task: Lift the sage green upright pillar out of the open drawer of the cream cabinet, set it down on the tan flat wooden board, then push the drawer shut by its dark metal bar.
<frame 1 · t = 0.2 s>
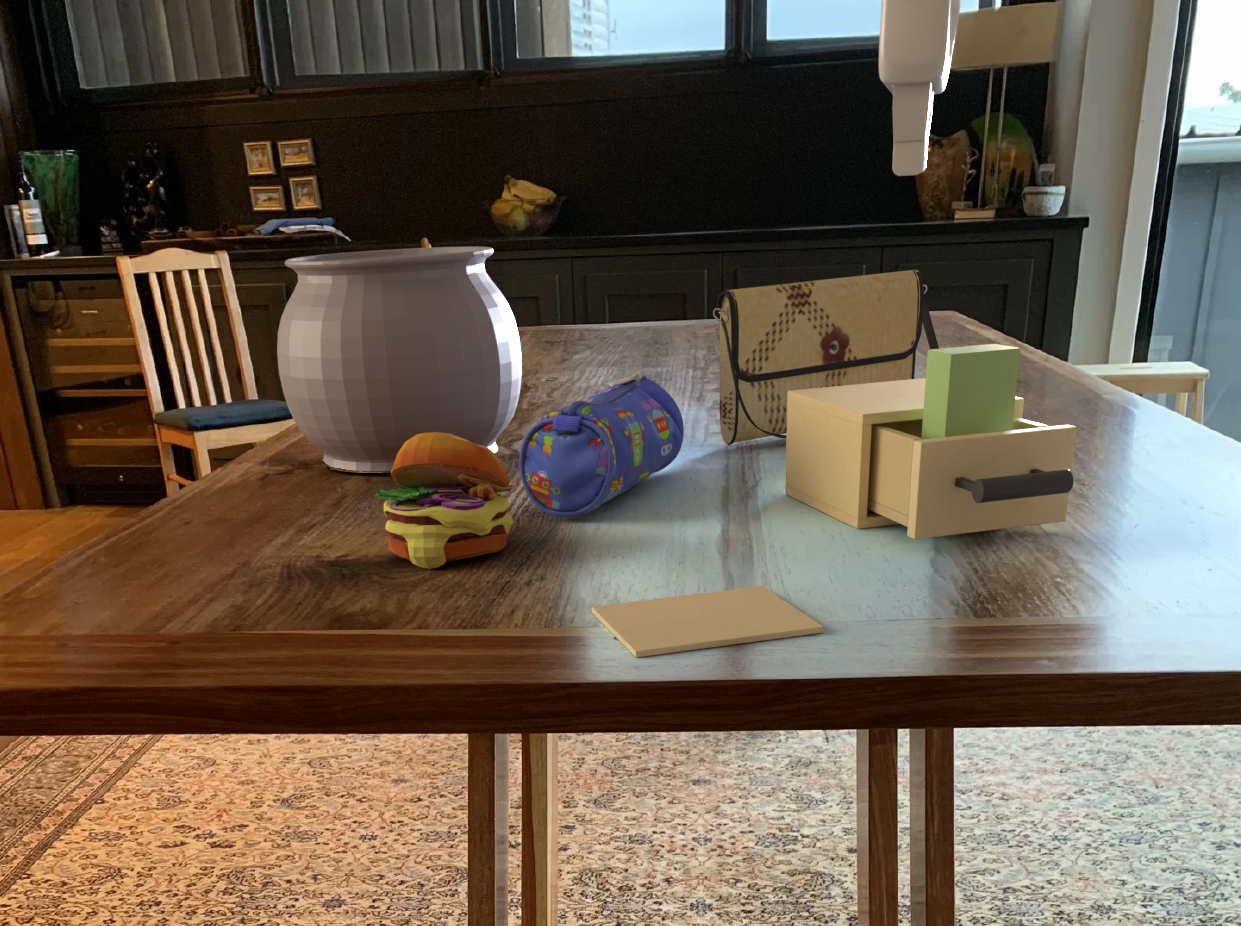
hand: (909, 175, 82), 24 cm above the table, tool pointing down, fingers open, 8 cm apart
drawer: (963, 472, 99), point 4 cm above the table, slide at 7.0 cm, touching sage green upright pillar
sage green upright pillar: (960, 503, 100), point 2 cm above the table, touching drawer
woven shoulder bag: (833, 433, 142), on the table
cabinet: (893, 502, 110), on the table
grey round vase: (411, 461, 140), on the table
pencil case: (609, 498, 118), on the table
pot: (938, 445, 133), on the table
tan flat wooden board: (703, 622, 83), on the table
cheeseburger: (450, 554, 103), on the table
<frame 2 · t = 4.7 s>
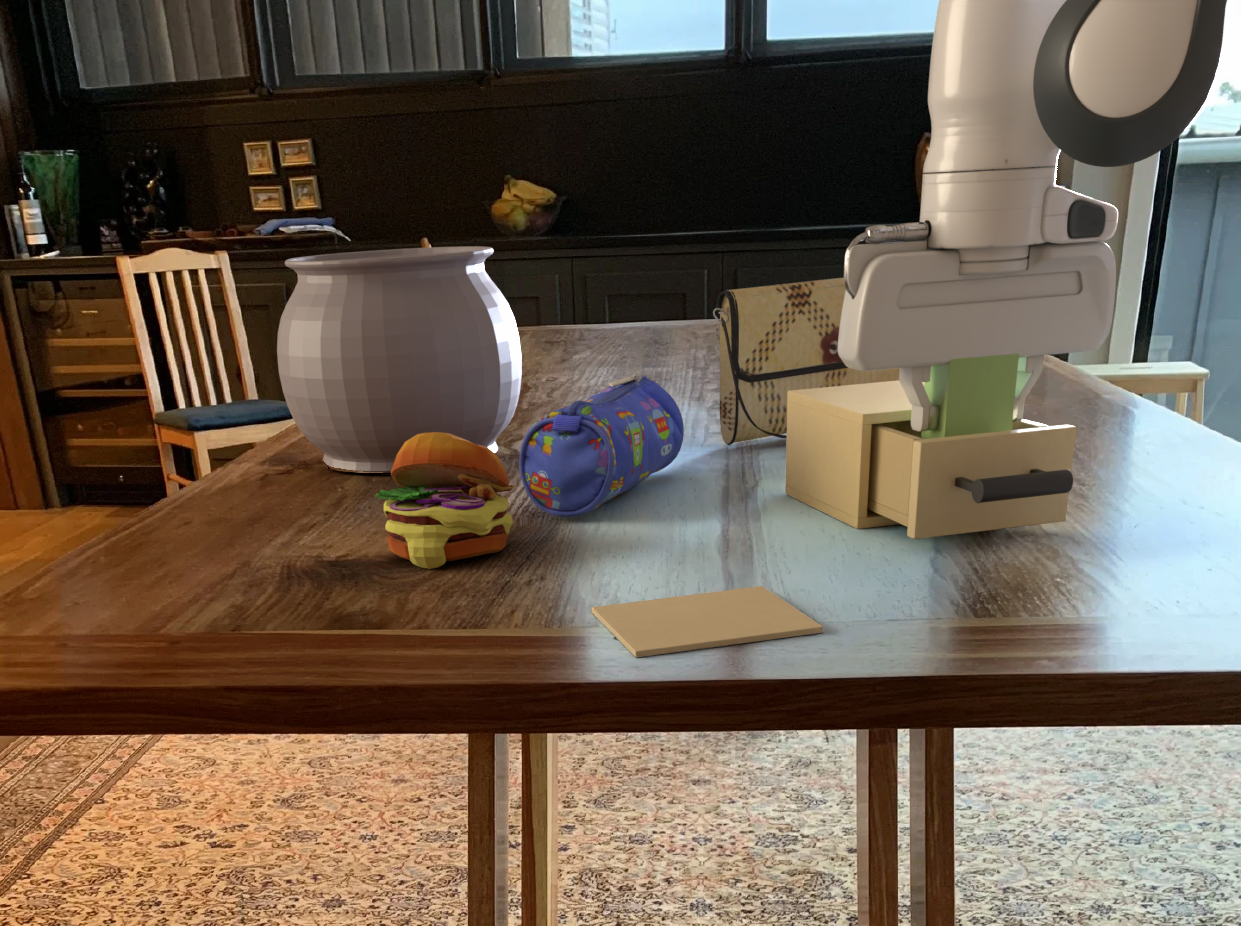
hand: (967, 425, 98), 8 cm above the table, tool pointing down, fingers closed on sage green upright pillar, 5 cm apart
sage green upright pillar: (960, 502, 100), point 2 cm above the table, touching drawer, gripper
everything else where it was.
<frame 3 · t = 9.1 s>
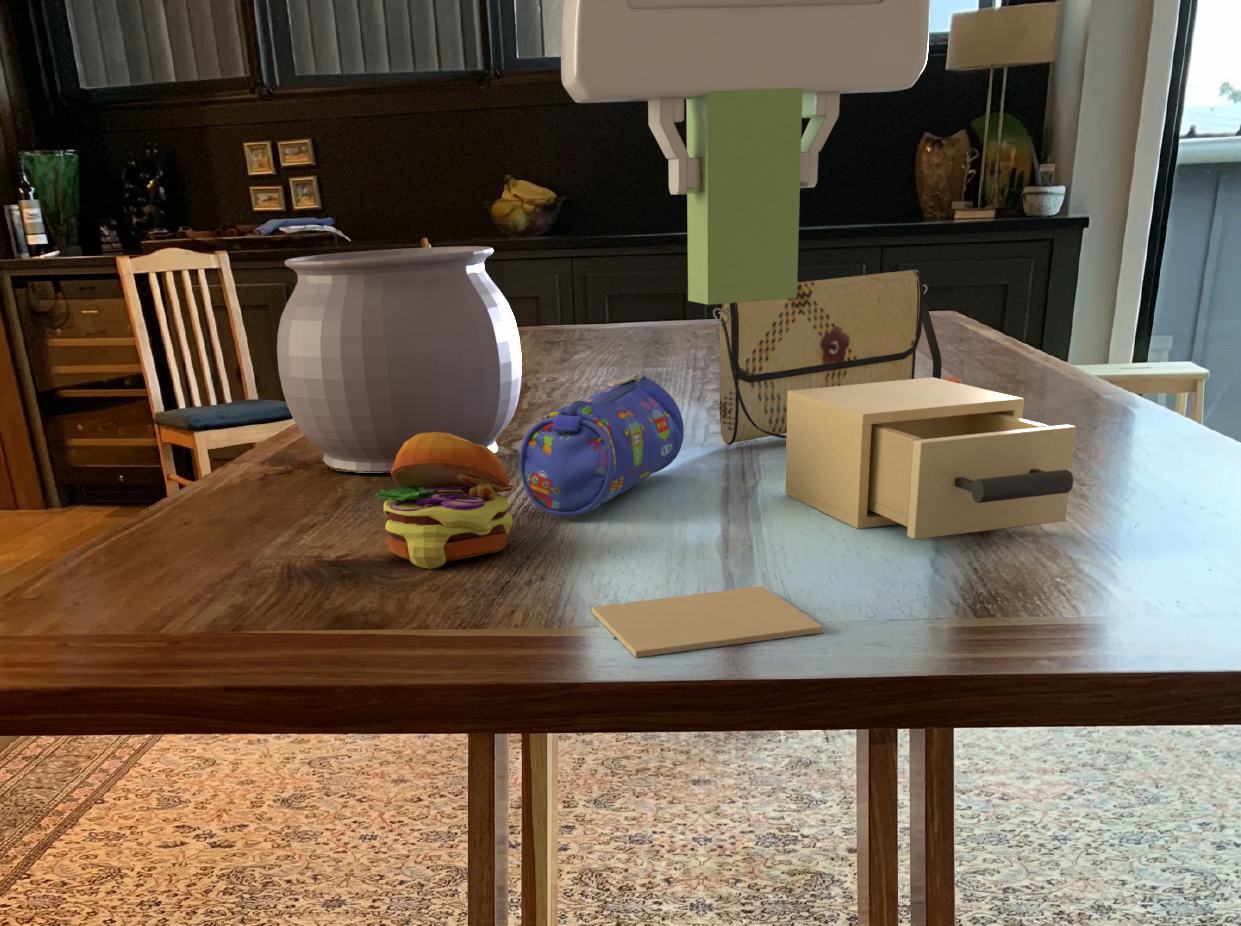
hand: (743, 191, 74), 24 cm above the table, tool pointing down, fingers closed on sage green upright pillar, 5 cm apart
drawer: (963, 472, 99), point 4 cm above the table, slide at 7.0 cm
sage green upright pillar: (741, 299, 77), point 19 cm above the table, touching gripper
everything else where it was.
when the fingers open (6 cm above the table, at t = 13.8 s): sage green upright pillar stays where it is, resting on tan flat wooden board.
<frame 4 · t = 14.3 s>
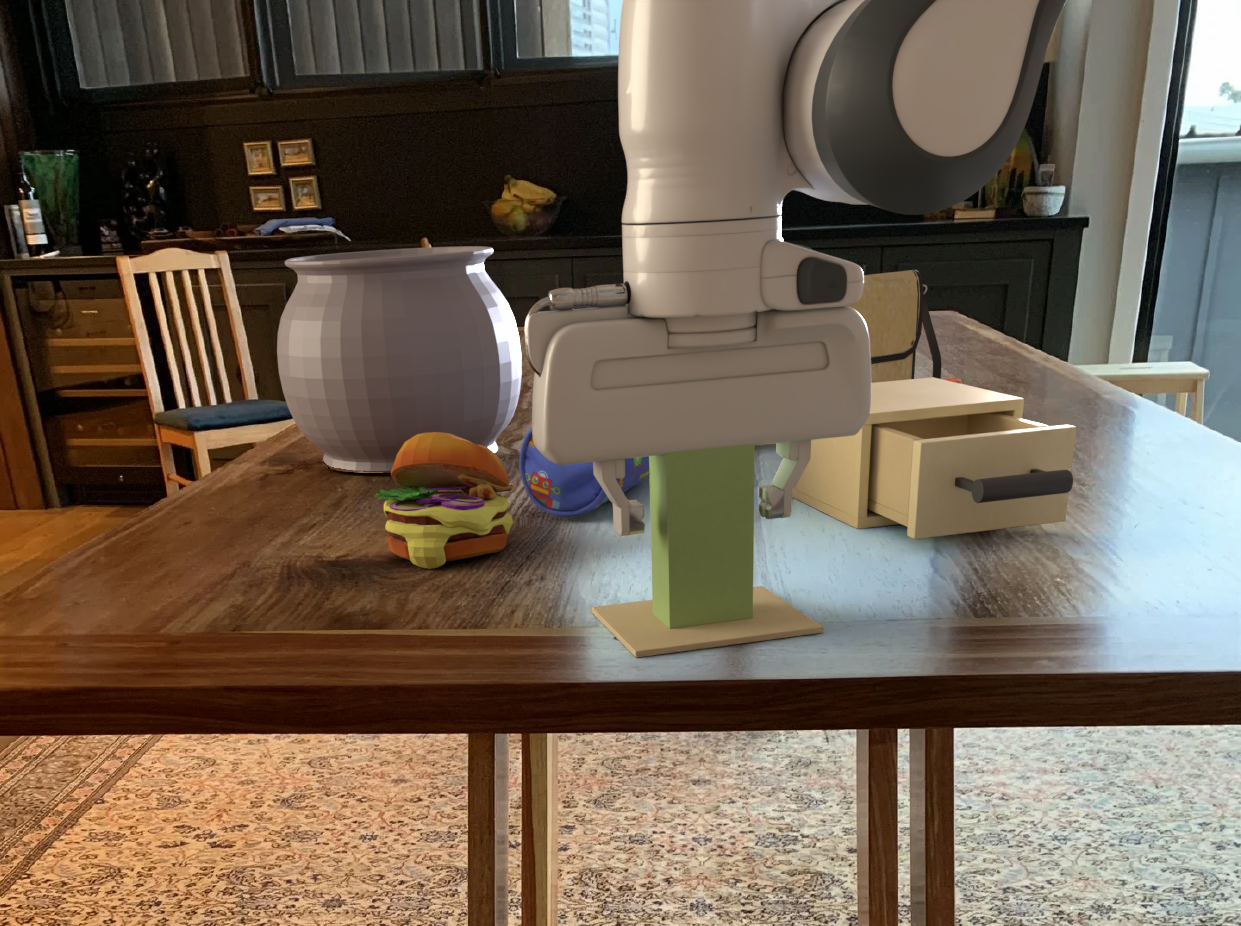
hand: (702, 525, 80), 6 cm above the table, tool pointing down, fingers open, 8 cm apart
sage green upright pillar: (702, 616, 83), resting on tan flat wooden board
everything else where it was.
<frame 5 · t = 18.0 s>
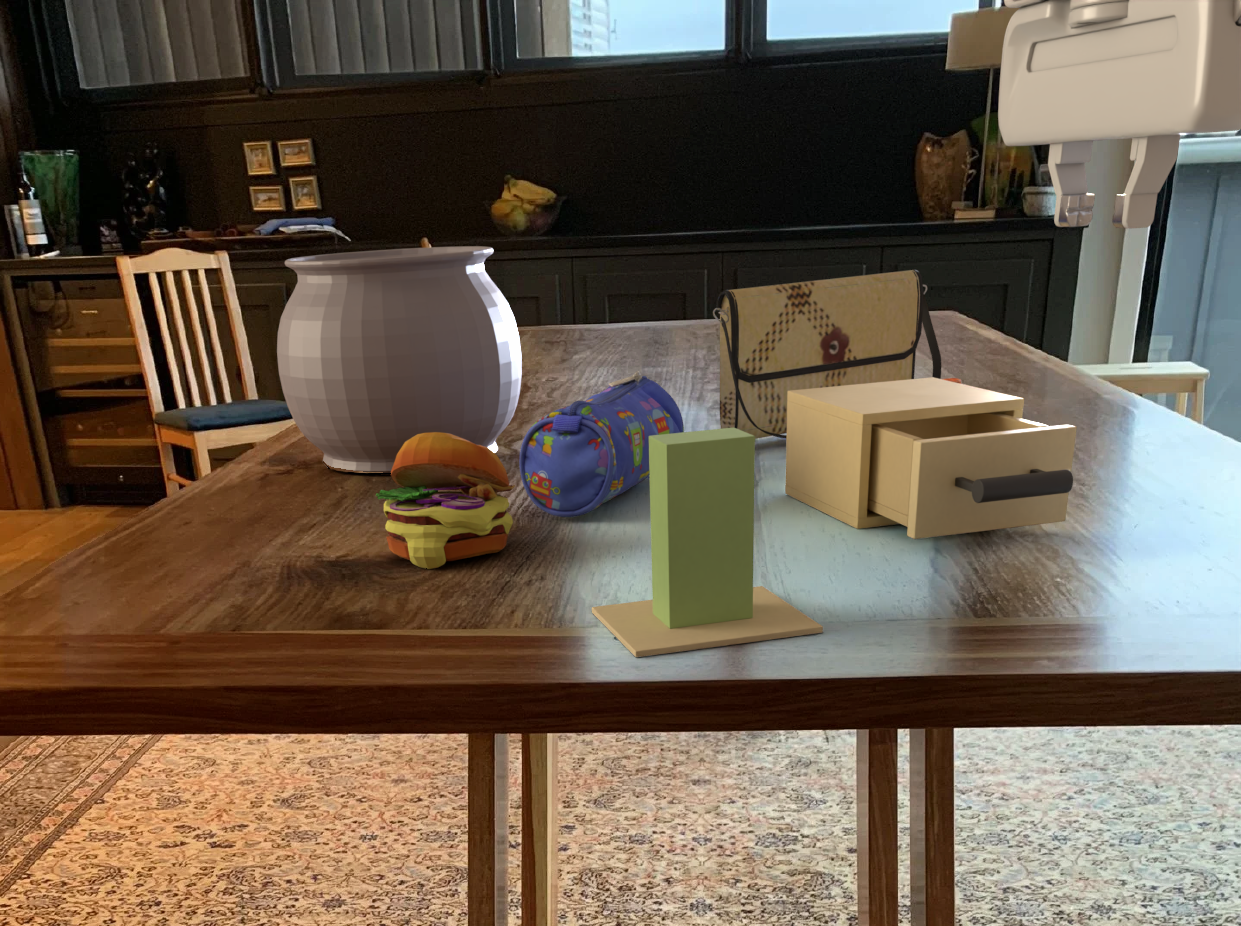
hand: (1101, 227, 79), 21 cm above the table, tool pointing down, fingers open, 5 cm apart
nothing on the table moved.
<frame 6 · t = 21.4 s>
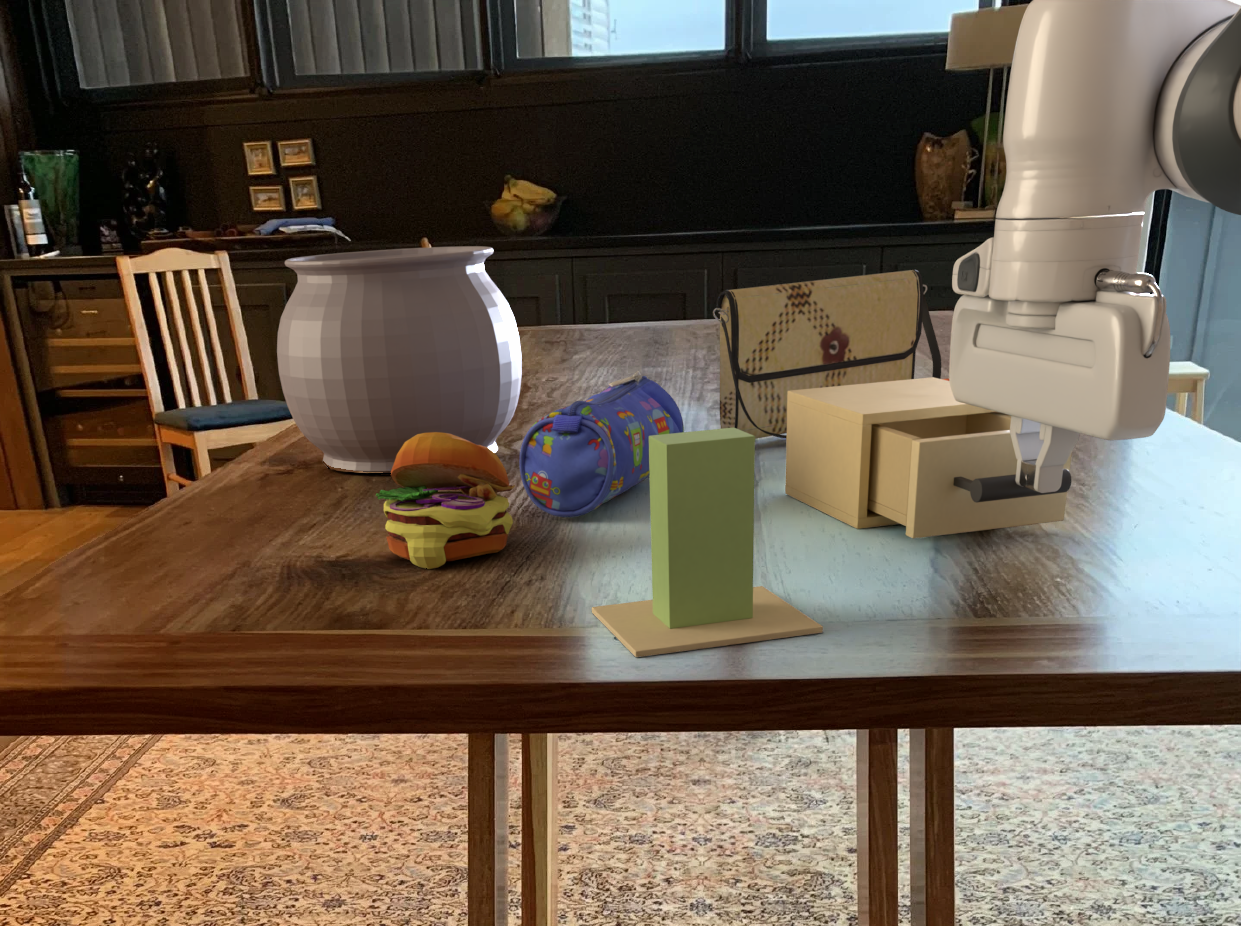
hand: (1037, 488, 90), 5 cm above the table, tool pointing down, fingers closed
drawer: (962, 471, 99), point 4 cm above the table, slide at 6.8 cm, touching gripper
everything else where it was.
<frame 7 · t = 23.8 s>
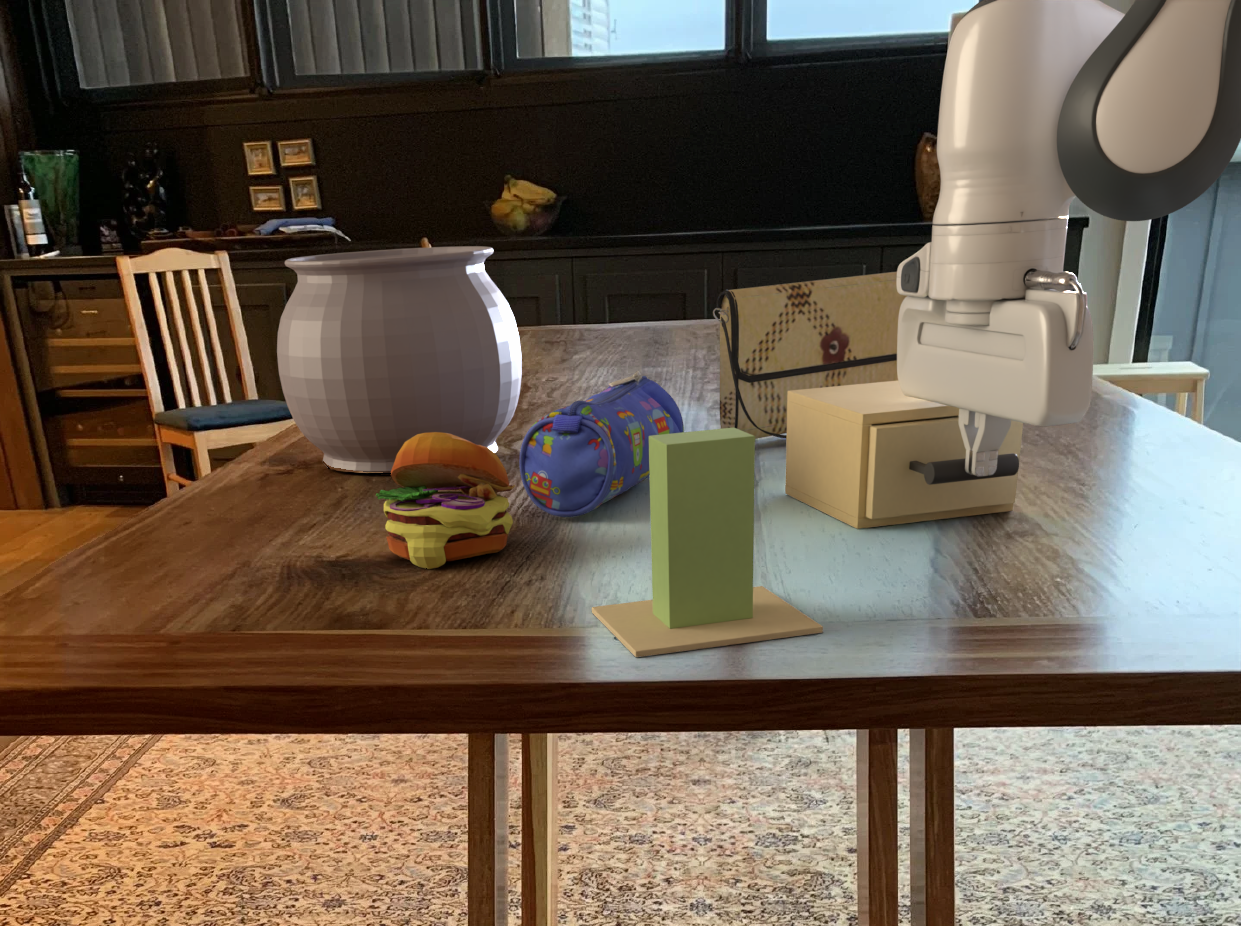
hand: (979, 474, 97), 5 cm above the table, tool pointing down, fingers closed, pressing on drawer
drawer: (919, 457, 105), point 4 cm above the table, slide at 0.0 cm, touching cabinet, gripper
everything else where it was.
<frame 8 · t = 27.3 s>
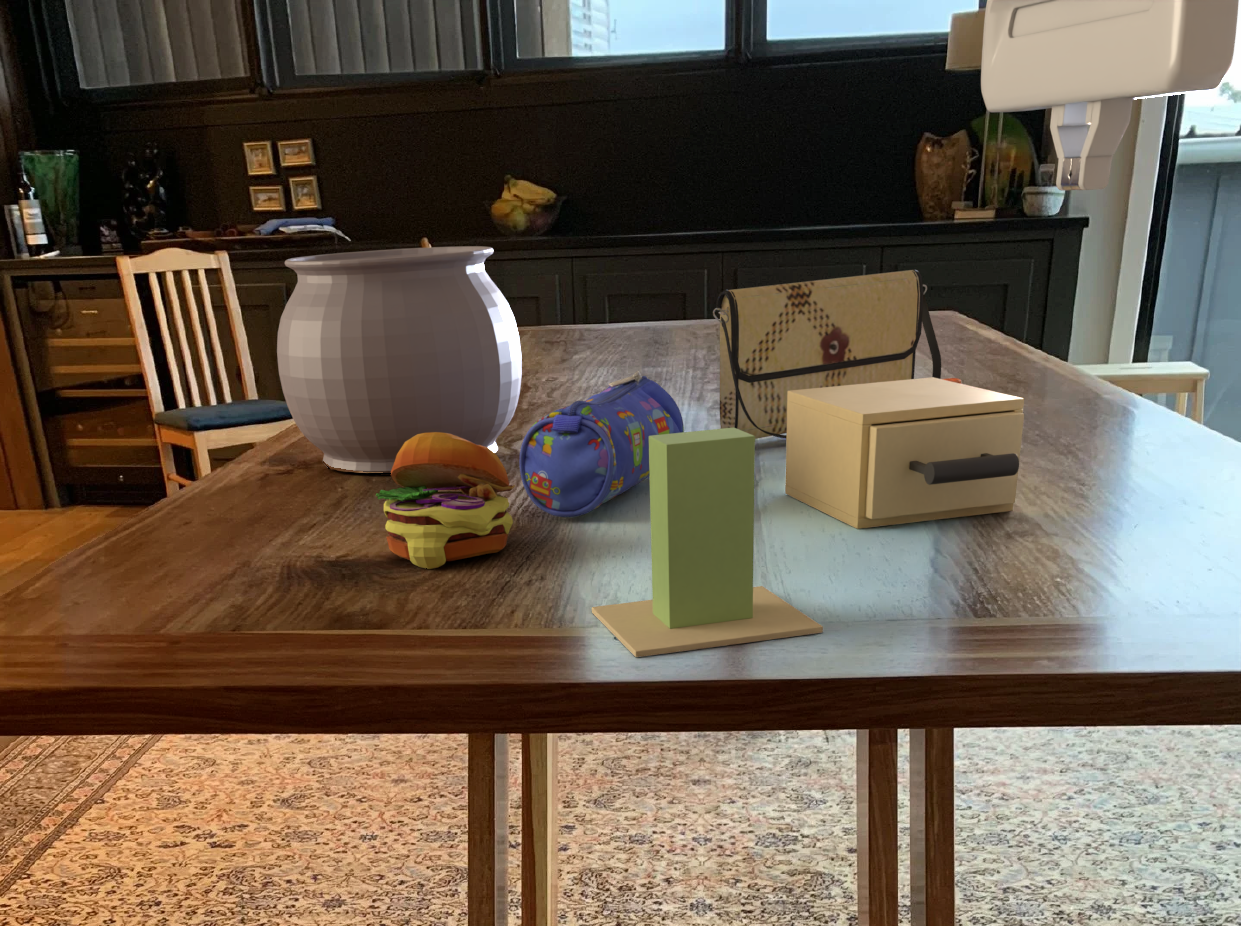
hand: (1081, 190, 81), 23 cm above the table, tool pointing down, fingers closed
drawer: (919, 457, 105), point 4 cm above the table, slide at 0.0 cm
everything else where it was.
at the end: sage green upright pillar inside the target area on the tan flat wooden board (0.1 cm from its centre), point 0.4 cm above the tan flat wooden board's base; drawer slide at 0.0 cm; the gripper is holding nothing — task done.
